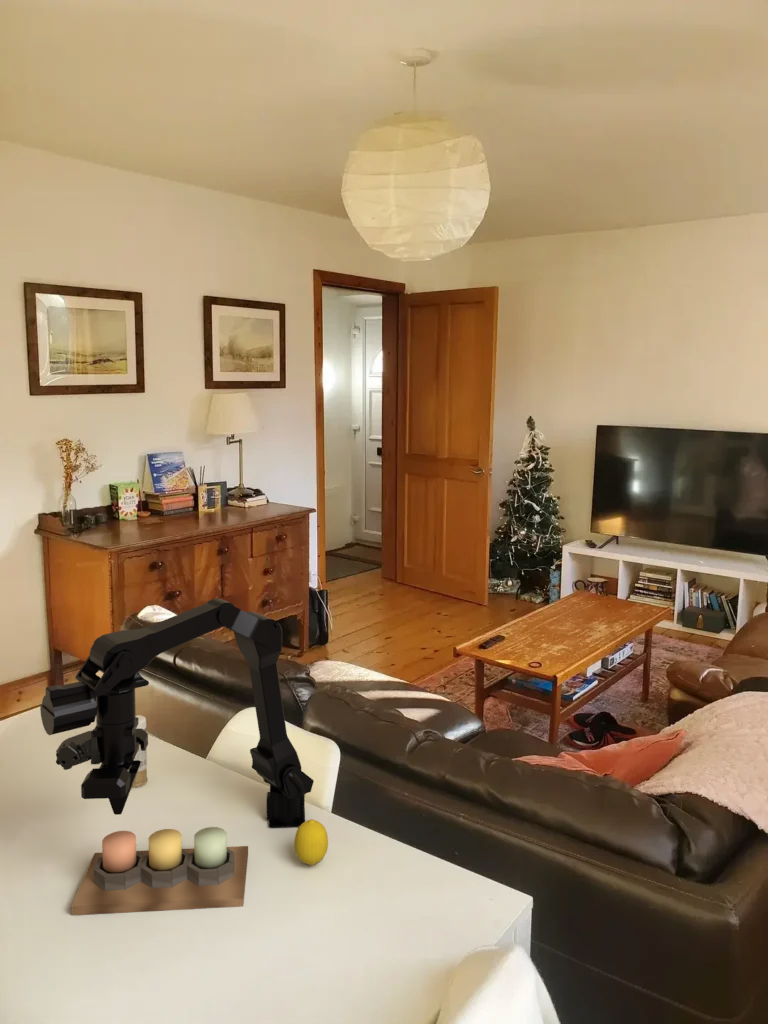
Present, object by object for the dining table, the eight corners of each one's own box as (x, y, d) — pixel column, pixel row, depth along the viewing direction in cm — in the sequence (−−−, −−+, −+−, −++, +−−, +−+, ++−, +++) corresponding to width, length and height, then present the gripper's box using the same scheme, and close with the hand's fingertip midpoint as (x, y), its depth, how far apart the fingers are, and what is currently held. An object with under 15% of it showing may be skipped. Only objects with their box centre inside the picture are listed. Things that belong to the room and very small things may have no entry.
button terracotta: (139, 853, 127) (138, 830, 126) (133, 871, 122) (132, 847, 121) (106, 854, 126) (106, 831, 126) (99, 873, 121) (98, 848, 121)
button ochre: (183, 851, 128) (183, 828, 127) (179, 869, 123) (179, 845, 122) (152, 852, 127) (151, 829, 126) (146, 871, 122) (145, 846, 122)
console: (248, 854, 134) (248, 833, 133) (243, 906, 120) (243, 883, 119) (94, 861, 131) (94, 839, 130) (71, 915, 117) (71, 891, 116)
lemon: (322, 876, 128) (323, 830, 127) (289, 872, 129) (290, 826, 128) (331, 857, 133) (332, 813, 132) (300, 853, 134) (300, 809, 133)
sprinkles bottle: (142, 775, 161) (140, 712, 159) (151, 784, 157) (150, 719, 155) (120, 782, 158) (118, 717, 156) (128, 791, 154) (127, 725, 152)
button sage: (227, 849, 128) (227, 826, 128) (225, 867, 124) (225, 843, 123) (196, 850, 128) (196, 827, 127) (192, 868, 123) (192, 844, 122)
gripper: (77, 696, 129) (80, 786, 131) (42, 744, 111) (45, 848, 113) (147, 695, 131) (149, 784, 133) (123, 742, 112) (126, 845, 114)
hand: (118, 813), depth 123 cm, fingers closed
